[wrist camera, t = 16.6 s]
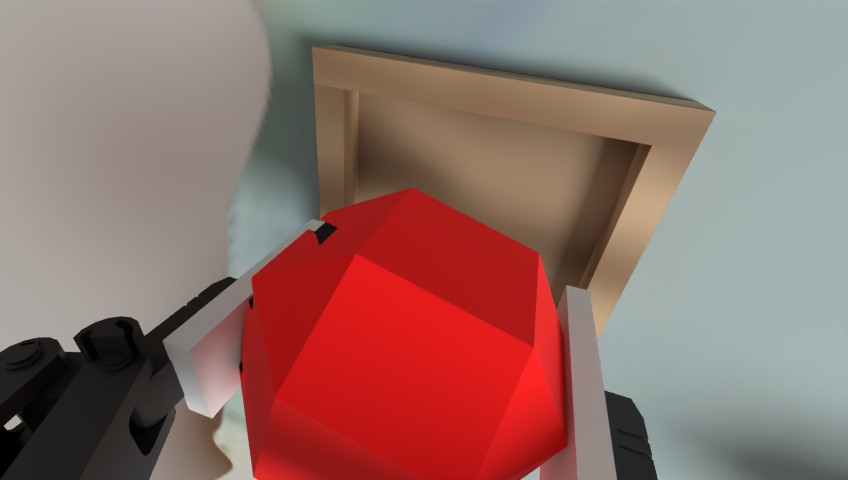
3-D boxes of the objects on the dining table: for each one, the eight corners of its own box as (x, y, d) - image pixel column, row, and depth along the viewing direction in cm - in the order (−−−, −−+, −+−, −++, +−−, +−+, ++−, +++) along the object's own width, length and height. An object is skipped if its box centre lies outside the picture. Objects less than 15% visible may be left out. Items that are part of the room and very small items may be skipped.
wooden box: (334, 44, 18) (311, 47, 16) (697, 101, 15) (716, 112, 13) (341, 383, 32) (329, 403, 30) (528, 449, 29) (526, 475, 27)
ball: (375, 133, 12) (171, 261, 5) (600, 248, 11) (659, 524, 5) (323, 295, 16) (179, 468, 10) (483, 381, 16) (439, 614, 10)
